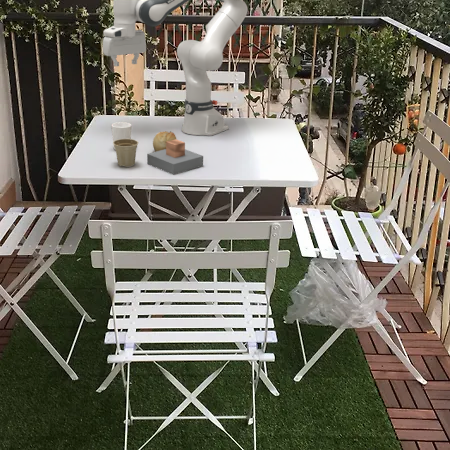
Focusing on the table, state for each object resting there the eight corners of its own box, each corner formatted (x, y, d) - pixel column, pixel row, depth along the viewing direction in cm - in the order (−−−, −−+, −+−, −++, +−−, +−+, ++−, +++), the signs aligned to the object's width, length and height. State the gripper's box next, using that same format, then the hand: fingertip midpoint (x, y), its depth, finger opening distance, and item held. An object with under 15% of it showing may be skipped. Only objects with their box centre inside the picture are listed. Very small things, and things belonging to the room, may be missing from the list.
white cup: (128, 152, 234) (127, 128, 230) (109, 150, 235) (108, 126, 231) (134, 147, 241) (134, 123, 237) (116, 145, 242) (115, 121, 238)
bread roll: (177, 146, 245) (177, 127, 242) (176, 157, 232) (176, 138, 228) (154, 145, 245) (154, 126, 241) (151, 156, 231) (151, 137, 228)
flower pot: (127, 170, 216) (127, 147, 212) (108, 165, 220) (107, 142, 217) (144, 163, 223) (143, 141, 220) (125, 158, 228) (124, 137, 224)
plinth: (176, 155, 233) (177, 146, 231) (203, 165, 224) (203, 155, 222) (147, 163, 223) (147, 153, 222) (173, 174, 214) (173, 164, 212)
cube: (176, 151, 225) (176, 139, 223) (184, 155, 222) (185, 142, 220) (166, 154, 222) (166, 141, 220) (174, 157, 219) (174, 144, 217)
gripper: (139, 28, 251) (140, 61, 257) (99, 31, 237) (101, 66, 243) (149, 30, 247) (149, 63, 253) (109, 33, 233) (110, 68, 239)
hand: (125, 65), depth 248 cm, fingers open, 8 cm apart
